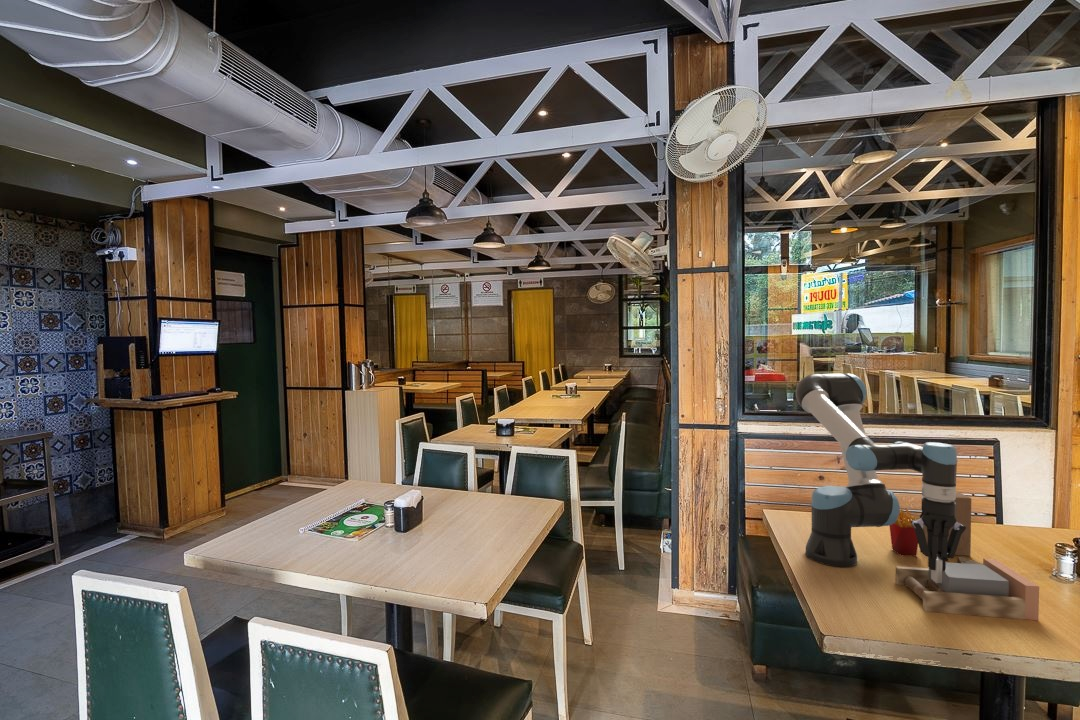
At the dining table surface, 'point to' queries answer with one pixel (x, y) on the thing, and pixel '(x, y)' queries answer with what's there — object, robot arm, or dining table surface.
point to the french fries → (904, 534)
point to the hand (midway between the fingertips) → (936, 580)
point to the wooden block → (963, 518)
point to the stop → (1018, 587)
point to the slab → (972, 580)
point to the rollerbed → (957, 597)
